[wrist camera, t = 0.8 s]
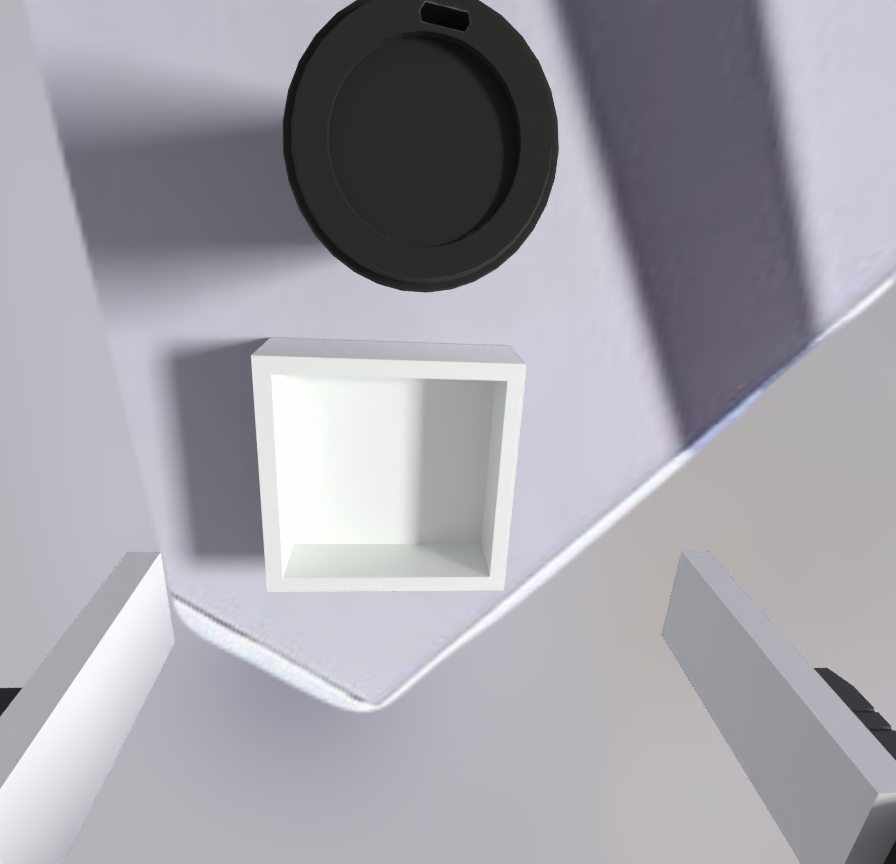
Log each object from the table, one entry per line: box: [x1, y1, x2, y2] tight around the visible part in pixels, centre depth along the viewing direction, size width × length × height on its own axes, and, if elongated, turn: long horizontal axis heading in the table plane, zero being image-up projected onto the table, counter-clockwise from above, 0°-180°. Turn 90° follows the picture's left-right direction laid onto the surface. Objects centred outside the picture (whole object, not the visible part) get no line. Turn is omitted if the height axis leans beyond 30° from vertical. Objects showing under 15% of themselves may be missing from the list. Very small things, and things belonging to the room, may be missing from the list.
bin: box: [251, 338, 527, 592], centre depth 36 cm, size 15×15×5 cm
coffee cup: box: [283, 0, 559, 292], centre depth 26 cm, size 10×10×15 cm
